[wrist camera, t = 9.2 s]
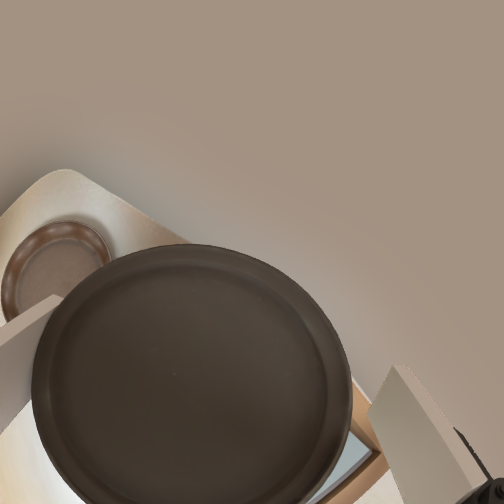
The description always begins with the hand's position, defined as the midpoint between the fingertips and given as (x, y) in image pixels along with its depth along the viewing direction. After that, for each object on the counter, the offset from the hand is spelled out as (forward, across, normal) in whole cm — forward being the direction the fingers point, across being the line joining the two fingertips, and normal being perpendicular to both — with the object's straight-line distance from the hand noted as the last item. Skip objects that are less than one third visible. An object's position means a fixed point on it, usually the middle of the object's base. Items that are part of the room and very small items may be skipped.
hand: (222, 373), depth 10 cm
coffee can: (+6, 0, -10) cm, 12 cm away
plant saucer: (+25, -26, -12) cm, 38 cm away
